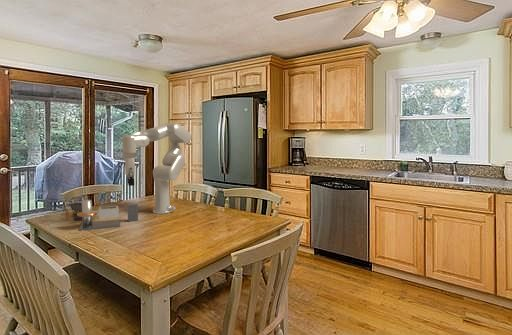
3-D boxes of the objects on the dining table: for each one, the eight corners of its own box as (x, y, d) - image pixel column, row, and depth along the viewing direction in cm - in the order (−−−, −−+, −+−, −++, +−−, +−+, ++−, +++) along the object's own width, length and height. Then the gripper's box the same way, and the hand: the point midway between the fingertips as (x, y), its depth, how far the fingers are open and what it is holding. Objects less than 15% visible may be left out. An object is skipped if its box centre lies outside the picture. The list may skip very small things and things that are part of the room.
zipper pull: (83, 202, 210) (91, 208, 191) (83, 211, 211) (92, 219, 192) (67, 203, 205) (75, 210, 185) (68, 213, 205) (75, 221, 186)
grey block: (137, 219, 191) (137, 203, 190) (138, 220, 189) (137, 204, 188) (127, 220, 189) (127, 204, 188) (128, 221, 186) (127, 205, 185)
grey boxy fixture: (119, 221, 188) (118, 196, 186) (120, 226, 176) (119, 200, 175) (78, 225, 178) (77, 199, 177) (76, 231, 167) (75, 203, 165)
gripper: (122, 155, 191) (123, 182, 193) (123, 157, 176) (124, 186, 177) (135, 154, 194) (136, 182, 196) (137, 156, 179) (138, 186, 180)
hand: (130, 184), depth 187 cm, fingers open, 9 cm apart
